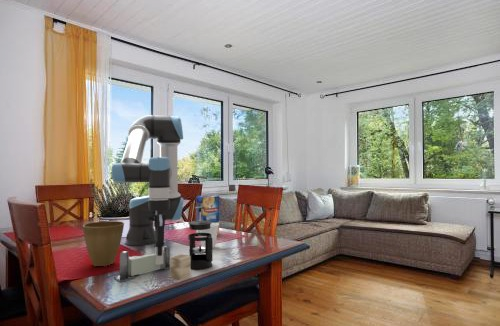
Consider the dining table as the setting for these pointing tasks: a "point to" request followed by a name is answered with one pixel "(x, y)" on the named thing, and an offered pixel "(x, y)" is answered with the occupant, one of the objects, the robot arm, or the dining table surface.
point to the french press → (200, 259)
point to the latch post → (167, 257)
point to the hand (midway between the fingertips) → (159, 263)
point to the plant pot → (103, 241)
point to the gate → (144, 264)
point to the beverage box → (208, 209)
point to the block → (180, 266)
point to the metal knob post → (124, 267)
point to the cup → (213, 231)
